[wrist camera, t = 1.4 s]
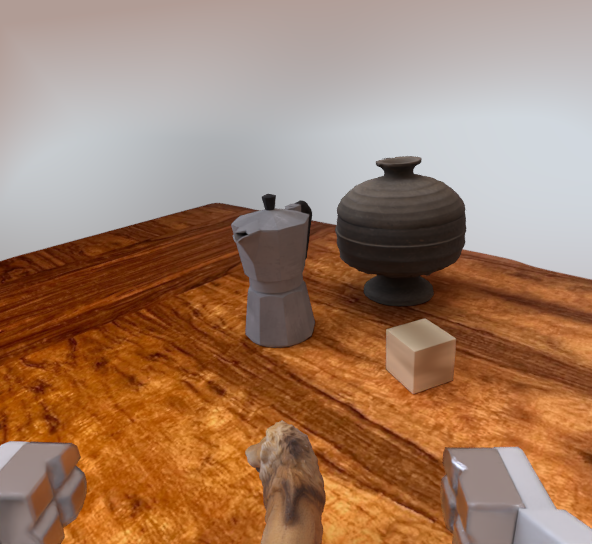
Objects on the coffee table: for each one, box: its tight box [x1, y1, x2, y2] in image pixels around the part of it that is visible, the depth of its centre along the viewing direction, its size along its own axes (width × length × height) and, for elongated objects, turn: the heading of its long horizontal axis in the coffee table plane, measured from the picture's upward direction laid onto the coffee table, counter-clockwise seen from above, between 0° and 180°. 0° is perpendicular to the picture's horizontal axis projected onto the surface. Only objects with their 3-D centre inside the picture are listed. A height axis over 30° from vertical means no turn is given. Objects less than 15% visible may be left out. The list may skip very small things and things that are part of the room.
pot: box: [335, 156, 466, 306], centre depth 65 cm, size 18×18×20 cm
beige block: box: [386, 319, 456, 394], centre depth 48 cm, size 5×5×5 cm
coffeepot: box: [231, 194, 315, 347], centre depth 58 cm, size 15×9×18 cm, turn 148°
